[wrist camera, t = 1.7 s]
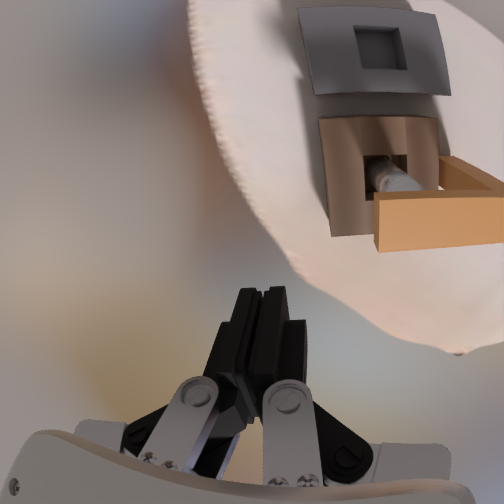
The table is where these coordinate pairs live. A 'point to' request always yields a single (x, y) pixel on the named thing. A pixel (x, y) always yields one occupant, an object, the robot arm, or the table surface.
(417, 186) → the grey metal rod
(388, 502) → the robot arm
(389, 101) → the table surface
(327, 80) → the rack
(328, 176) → the socket block
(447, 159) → the orange angle bracket
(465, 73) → the table surface
